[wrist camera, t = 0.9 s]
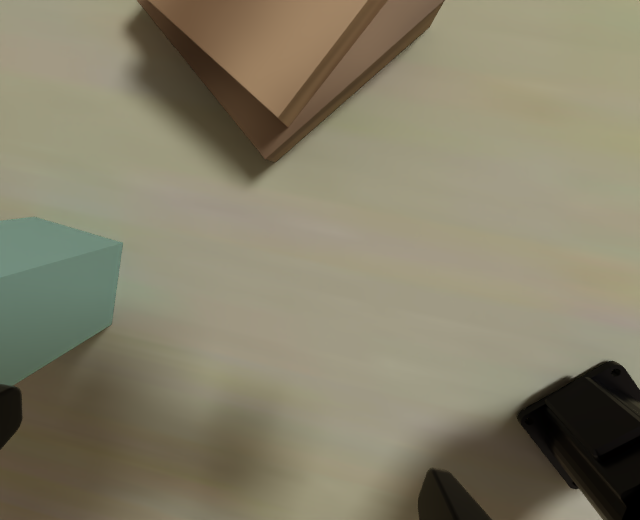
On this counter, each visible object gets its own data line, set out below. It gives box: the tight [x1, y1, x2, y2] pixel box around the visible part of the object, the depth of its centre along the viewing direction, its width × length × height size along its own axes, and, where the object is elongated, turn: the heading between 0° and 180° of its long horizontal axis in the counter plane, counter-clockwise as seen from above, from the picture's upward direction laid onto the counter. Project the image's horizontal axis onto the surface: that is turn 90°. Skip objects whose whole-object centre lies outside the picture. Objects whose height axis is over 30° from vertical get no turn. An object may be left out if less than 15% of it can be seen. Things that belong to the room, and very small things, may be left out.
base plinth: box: [137, 0, 445, 162], centre depth 15 cm, size 10×10×2 cm
